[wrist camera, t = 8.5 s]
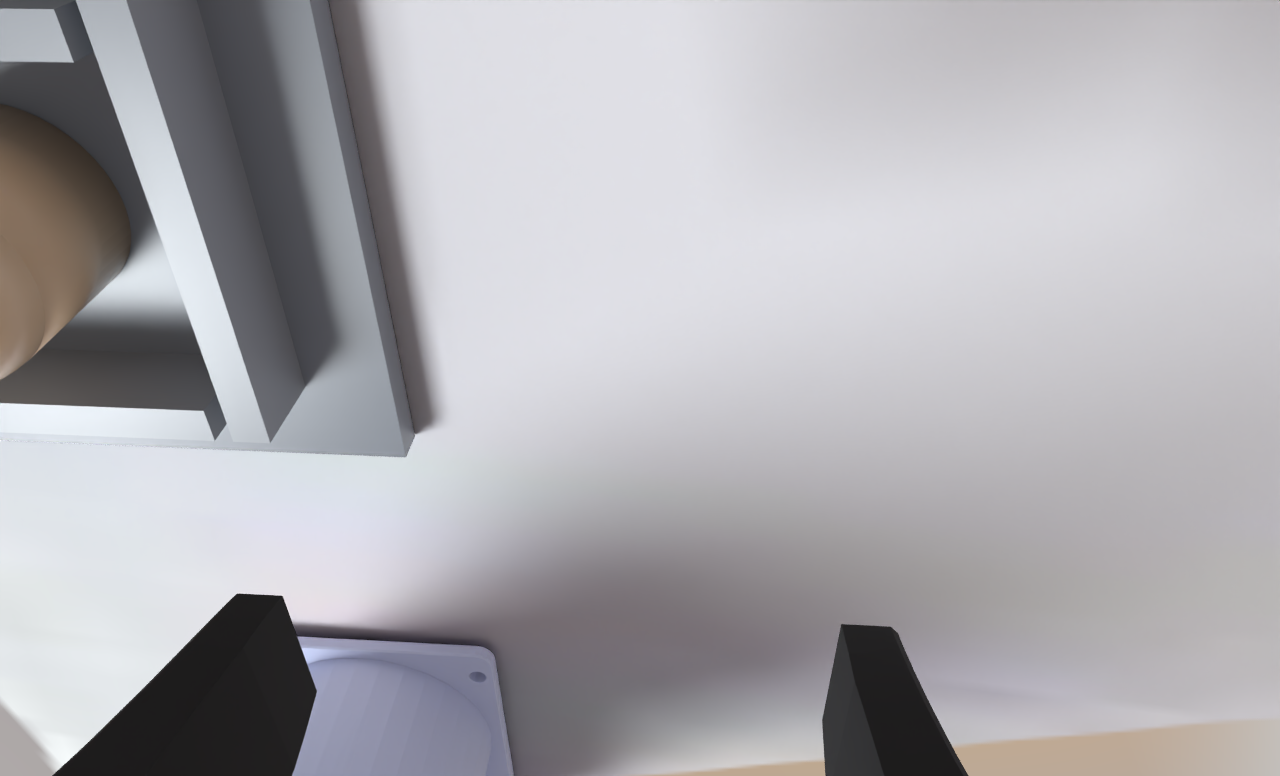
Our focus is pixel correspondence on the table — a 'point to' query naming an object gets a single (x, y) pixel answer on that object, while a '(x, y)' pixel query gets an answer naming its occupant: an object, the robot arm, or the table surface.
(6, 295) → the loose egg
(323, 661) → the robot arm
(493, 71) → the table surface
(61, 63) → the carton
